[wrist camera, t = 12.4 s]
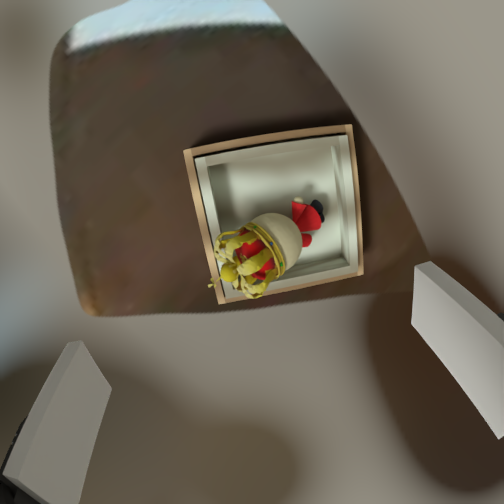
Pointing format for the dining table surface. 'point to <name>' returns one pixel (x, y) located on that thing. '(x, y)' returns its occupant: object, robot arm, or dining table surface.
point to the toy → (267, 246)
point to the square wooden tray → (281, 199)
